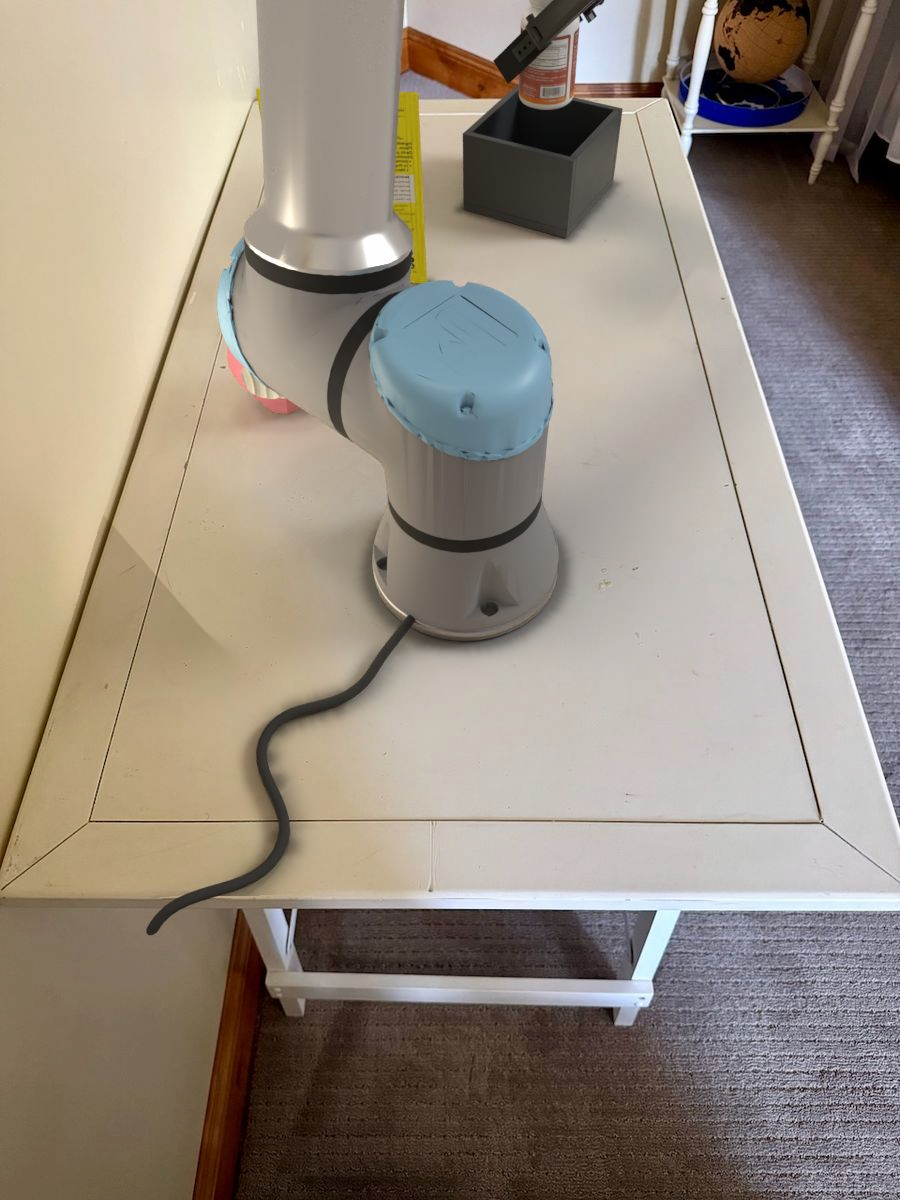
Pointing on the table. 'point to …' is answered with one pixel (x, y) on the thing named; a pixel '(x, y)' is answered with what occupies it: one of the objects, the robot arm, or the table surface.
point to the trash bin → (540, 162)
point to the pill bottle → (550, 67)
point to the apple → (259, 388)
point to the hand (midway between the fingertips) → (518, 58)
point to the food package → (408, 179)
